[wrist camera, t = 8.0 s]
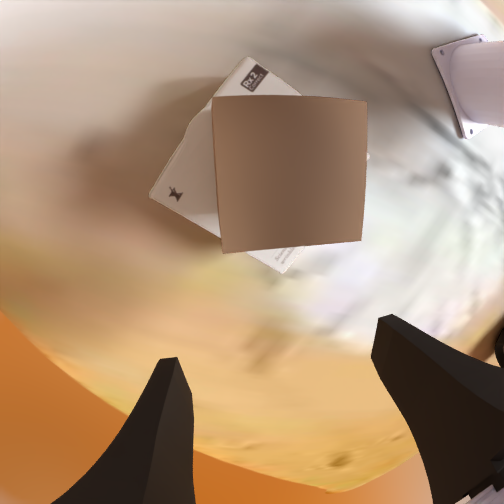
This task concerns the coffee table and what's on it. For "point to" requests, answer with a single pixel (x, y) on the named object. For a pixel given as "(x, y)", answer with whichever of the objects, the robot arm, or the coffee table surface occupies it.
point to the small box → (202, 161)
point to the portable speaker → (500, 350)
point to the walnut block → (289, 170)
